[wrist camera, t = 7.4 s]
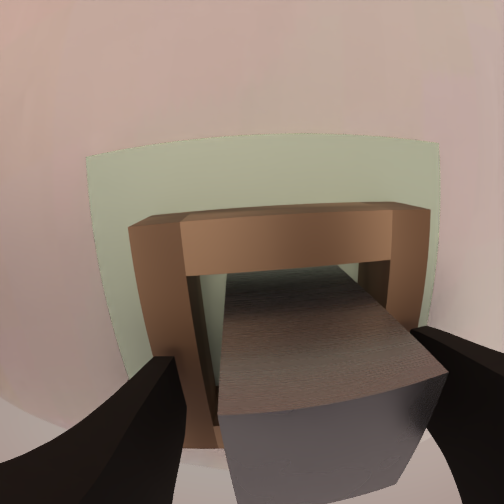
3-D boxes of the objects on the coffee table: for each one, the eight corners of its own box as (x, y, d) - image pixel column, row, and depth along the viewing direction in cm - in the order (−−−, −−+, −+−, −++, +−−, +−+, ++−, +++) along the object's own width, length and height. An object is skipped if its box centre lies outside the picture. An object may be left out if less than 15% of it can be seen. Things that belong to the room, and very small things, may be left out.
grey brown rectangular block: (235, 361, 12) (240, 513, 5) (227, 270, 11) (217, 415, 4) (329, 352, 12) (395, 484, 5) (334, 262, 11) (448, 371, 4)
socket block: (155, 426, 14) (144, 472, 10) (97, 157, 10) (49, 154, 7) (396, 399, 14) (421, 437, 11) (425, 144, 11) (478, 139, 7)
